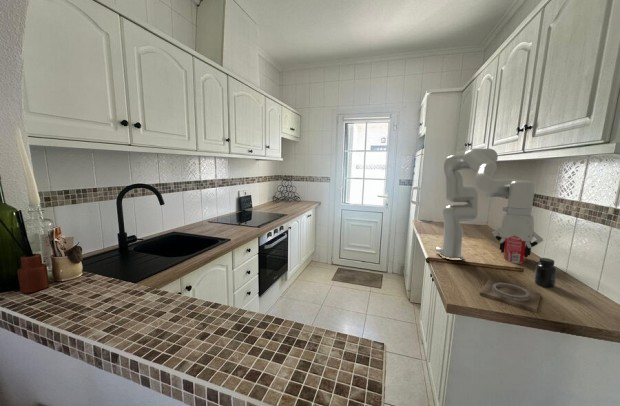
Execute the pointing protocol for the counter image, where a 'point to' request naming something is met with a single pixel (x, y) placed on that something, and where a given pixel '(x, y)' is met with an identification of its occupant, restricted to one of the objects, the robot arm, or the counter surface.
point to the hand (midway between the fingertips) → (514, 253)
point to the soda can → (514, 250)
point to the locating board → (511, 295)
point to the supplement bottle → (545, 273)
